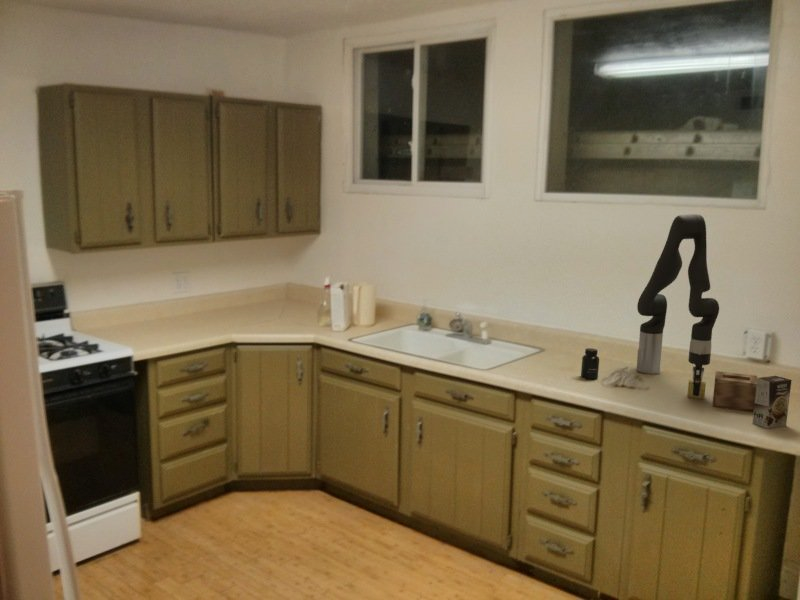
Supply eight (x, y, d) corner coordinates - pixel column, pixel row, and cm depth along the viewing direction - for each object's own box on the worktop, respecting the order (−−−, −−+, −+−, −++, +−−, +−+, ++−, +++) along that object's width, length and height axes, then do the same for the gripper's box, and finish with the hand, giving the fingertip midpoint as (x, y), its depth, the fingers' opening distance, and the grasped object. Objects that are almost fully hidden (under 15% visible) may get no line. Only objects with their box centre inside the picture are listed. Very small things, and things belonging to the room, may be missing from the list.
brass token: (687, 396, 277) (688, 381, 276) (687, 395, 279) (688, 379, 278) (704, 399, 275) (705, 383, 274) (704, 397, 277) (705, 382, 276)
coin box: (712, 406, 266) (715, 379, 264) (713, 397, 276) (715, 371, 275) (755, 412, 260) (758, 384, 258) (754, 402, 271) (757, 375, 269)
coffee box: (767, 429, 243) (773, 382, 240) (751, 423, 249) (756, 377, 246) (787, 425, 247) (792, 379, 244) (771, 419, 252) (775, 374, 250)
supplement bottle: (591, 381, 296) (593, 352, 294) (577, 377, 301) (579, 349, 299) (601, 378, 300) (603, 349, 298) (587, 374, 305) (589, 346, 303)
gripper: (690, 345, 282) (686, 386, 285) (688, 353, 269) (684, 396, 272) (711, 347, 279) (707, 388, 282) (710, 356, 266) (706, 399, 269)
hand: (696, 392), depth 277 cm, fingers open, 8 cm apart
